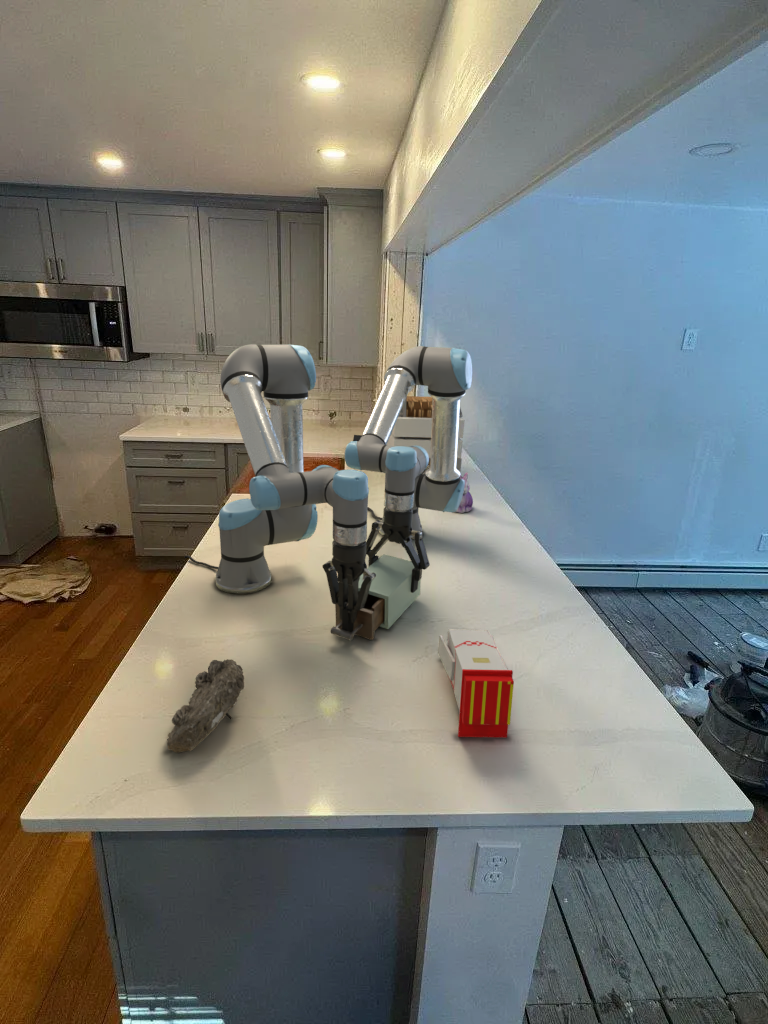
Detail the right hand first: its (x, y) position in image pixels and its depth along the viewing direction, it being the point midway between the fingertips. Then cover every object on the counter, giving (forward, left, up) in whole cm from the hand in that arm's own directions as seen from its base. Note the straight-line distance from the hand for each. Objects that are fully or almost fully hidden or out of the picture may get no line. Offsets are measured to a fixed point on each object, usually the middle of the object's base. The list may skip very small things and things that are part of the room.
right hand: (393, 584), depth 152 cm
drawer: (+5, -14, -4) cm, 15 cm away
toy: (+39, -13, -5) cm, 41 cm away
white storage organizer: (-88, +95, -5) cm, 130 cm away
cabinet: (+1, -4, -4) cm, 6 cm away
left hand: (+8, -22, -2) cm, 23 cm away
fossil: (+13, -58, -5) cm, 60 cm away
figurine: (-40, +73, -5) cm, 83 cm away
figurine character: (-139, +98, -5) cm, 170 cm away
